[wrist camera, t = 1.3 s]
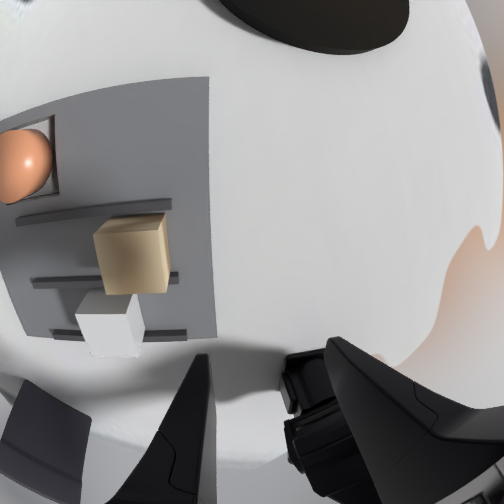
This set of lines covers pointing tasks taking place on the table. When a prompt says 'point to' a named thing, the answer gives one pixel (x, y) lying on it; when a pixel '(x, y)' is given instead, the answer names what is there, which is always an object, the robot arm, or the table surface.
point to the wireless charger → (326, 22)
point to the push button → (23, 163)
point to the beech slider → (134, 254)
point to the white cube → (111, 323)
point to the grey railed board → (116, 206)
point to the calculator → (45, 445)
